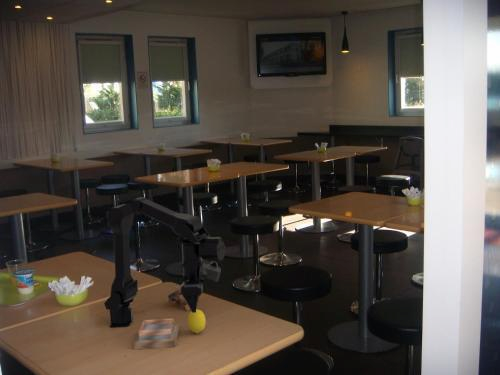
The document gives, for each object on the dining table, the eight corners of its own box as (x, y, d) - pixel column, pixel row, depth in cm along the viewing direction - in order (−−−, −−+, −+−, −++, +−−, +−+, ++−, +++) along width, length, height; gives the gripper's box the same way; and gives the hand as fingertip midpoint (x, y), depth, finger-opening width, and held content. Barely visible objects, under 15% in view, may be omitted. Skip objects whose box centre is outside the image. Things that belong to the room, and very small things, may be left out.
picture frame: (134, 349, 168) (133, 334, 167) (141, 333, 180) (139, 318, 179) (175, 346, 168) (173, 331, 168) (179, 330, 180) (178, 316, 179)
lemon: (203, 337, 174) (201, 312, 173) (186, 336, 175) (184, 311, 174) (208, 330, 179) (206, 305, 178) (191, 329, 181) (189, 305, 179)
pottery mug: (181, 315, 195) (169, 294, 195) (173, 319, 203) (162, 299, 204) (209, 298, 201) (198, 278, 202) (200, 303, 209) (189, 283, 210)
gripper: (217, 265, 165) (220, 316, 167) (219, 248, 183) (222, 295, 185) (178, 267, 164) (182, 318, 167) (184, 250, 183) (187, 297, 185)
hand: (195, 306), depth 176 cm, fingers open, 9 cm apart
